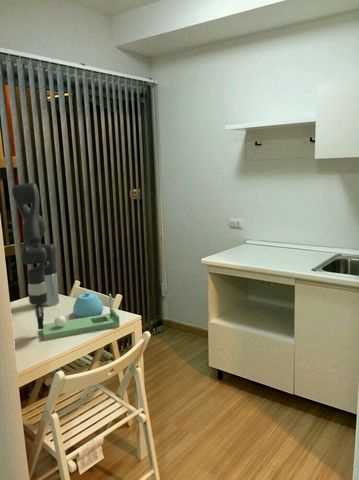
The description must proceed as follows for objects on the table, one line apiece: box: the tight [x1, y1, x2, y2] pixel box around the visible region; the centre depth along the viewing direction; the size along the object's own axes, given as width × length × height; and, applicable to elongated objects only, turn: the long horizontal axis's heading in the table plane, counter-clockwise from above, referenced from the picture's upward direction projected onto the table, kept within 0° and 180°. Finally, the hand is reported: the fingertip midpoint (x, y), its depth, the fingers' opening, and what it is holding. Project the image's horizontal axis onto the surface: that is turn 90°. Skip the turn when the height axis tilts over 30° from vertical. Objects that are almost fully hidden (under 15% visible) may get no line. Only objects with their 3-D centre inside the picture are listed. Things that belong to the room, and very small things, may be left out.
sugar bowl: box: [72, 291, 104, 319], centre depth 208 cm, size 15×15×12 cm
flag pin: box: [108, 293, 113, 318], centre depth 194 cm, size 4×1×12 cm, turn 24°
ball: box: [54, 315, 67, 327], centre depth 187 cm, size 5×5×5 cm
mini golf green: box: [41, 307, 120, 341], centre depth 191 cm, size 12×34×5 cm, turn 114°
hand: (40, 328), depth 184 cm, fingers closed
